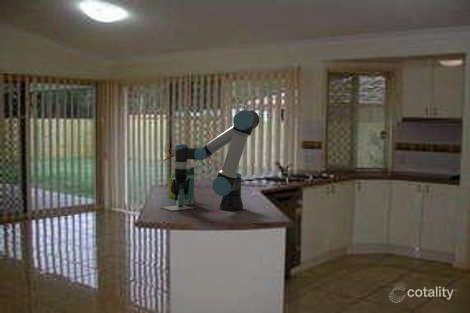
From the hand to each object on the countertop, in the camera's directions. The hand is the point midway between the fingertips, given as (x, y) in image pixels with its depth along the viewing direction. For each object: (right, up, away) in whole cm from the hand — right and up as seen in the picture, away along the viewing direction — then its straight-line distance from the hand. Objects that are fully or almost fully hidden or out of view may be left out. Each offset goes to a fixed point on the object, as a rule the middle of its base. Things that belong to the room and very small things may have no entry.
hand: (180, 204), depth 324 cm
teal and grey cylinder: (0, -1, 0) cm, 1 cm away
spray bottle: (-8, +1, +43) cm, 44 cm away
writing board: (-1, -2, -3) cm, 4 cm away
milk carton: (+1, -1, +16) cm, 16 cm away
